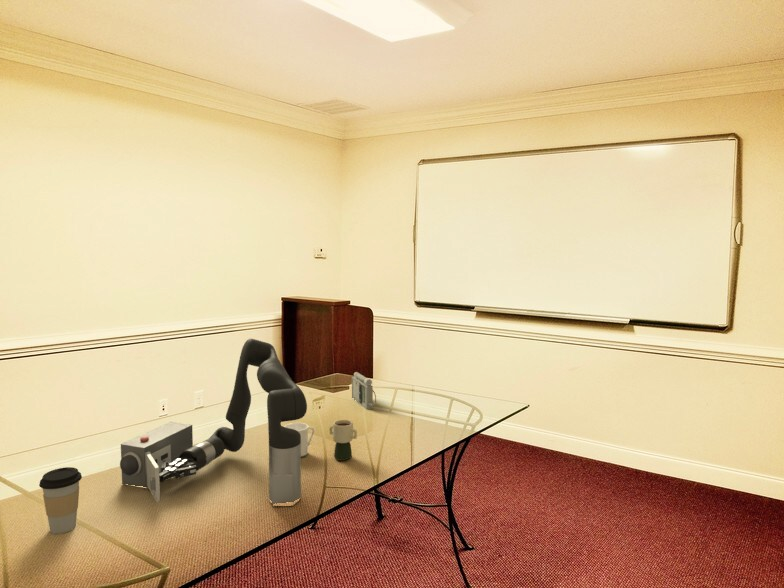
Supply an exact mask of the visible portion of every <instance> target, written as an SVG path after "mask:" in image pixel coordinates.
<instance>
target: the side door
mask: <svg viewBox="0 0 784 588" xmlns="http://www.w3.org/2000/svg"><path fill="white" fill-rule="evenodd" d="M145 476H146V487H148V489H149V492H150V493H151V496H152V497H153V499H154V501H156V503H157V502H160V501H161V492H160V490H161V489H160V483H159V466H158V465H157V463H156V462H155V460H154V459H153V457H152V456H151V452H145Z"/></svg>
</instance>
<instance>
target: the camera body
mask: <svg viewBox="0 0 784 588" xmlns="http://www.w3.org/2000/svg"><path fill="white" fill-rule="evenodd" d="M193 433H194V432H193V424H189V423H181V422H175V421H170V422H167V423H165V424H163V425H160V426H158V427H156V428H154V429H151V430H149V431H147V432H144V433H142V434H140V435H138V436H136V437H133V438H132V439H129V440H127V441H125V442H122V443H121V444H120V458H121V459H120V462H119V467H120V469H121V484H128V485H135V486H143V487H146V476H145V452H151V456H152V457H153V459H154V460H155V462H156V463H157V465H158V466H159V474H160V473H161V466H162V461H164V460H166V461H167V462H172V461H173V460H175V459H178V458H179V456H180V454H181V453H182V452H183V451H185V450H187V449H189V448H191V447H193V446H194V442H193V440H194V439H193V438H194V437H193ZM128 485H127V486H128Z"/></svg>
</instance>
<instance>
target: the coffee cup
mask: <svg viewBox="0 0 784 588" xmlns="http://www.w3.org/2000/svg"><path fill="white" fill-rule="evenodd" d="M82 479H83V476H82V472H81V471H79V469H78V468H76V467H70V466H69V467H67V466H66V467H60V468H55V469H52V470H50V471H47V472H46V473H44V474H43V476H42V478H41V479H40V481H39V484H38V486H39V488H41V489H42V493H43V494H42V496H43V503H44V507H45V514H46V516H47V522H48V527H49V532H50V533H51V534H53V535H60V534H65V533H68V532H70V531H73V530H74V529H75V528H76V526H77V516H78V515H77V514H78V508H79V500H80V499H79V497H80V496H79V495H80V481H81V480H82Z"/></svg>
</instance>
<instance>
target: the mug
mask: <svg viewBox="0 0 784 588" xmlns="http://www.w3.org/2000/svg"><path fill="white" fill-rule="evenodd" d="M283 427H286V428H290V429H294V430H296V431H298V432H299V433H300V435H301V459H302V458H305V457H306V456H307V455H308V447H309V446H310V445H311V442H312V439H313V437H314V433H315V429H314V427H313V426H309V424H307V423H304V422H291V423H287V424H285V425H284V426H283ZM309 429H310V430H311V432H310V435H309ZM308 438H309V439H308Z"/></svg>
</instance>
